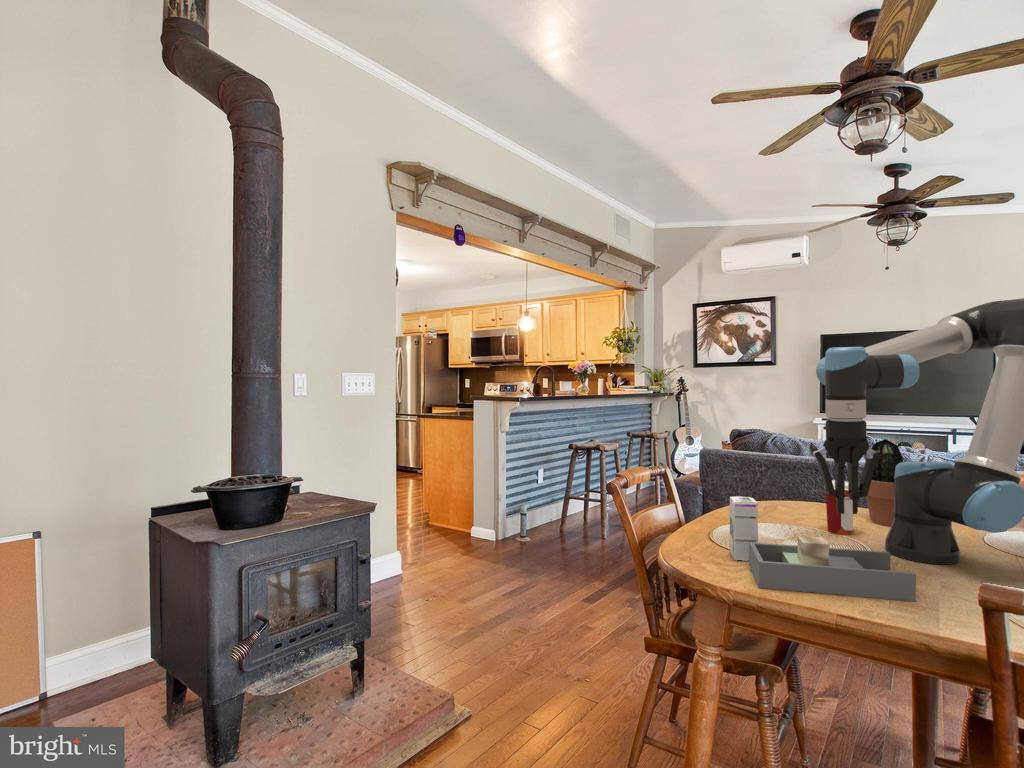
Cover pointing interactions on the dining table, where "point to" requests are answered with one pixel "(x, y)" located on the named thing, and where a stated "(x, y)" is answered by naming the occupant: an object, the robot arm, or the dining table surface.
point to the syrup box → (743, 526)
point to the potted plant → (883, 483)
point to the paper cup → (835, 513)
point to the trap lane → (831, 573)
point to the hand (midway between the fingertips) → (847, 528)
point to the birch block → (813, 551)
